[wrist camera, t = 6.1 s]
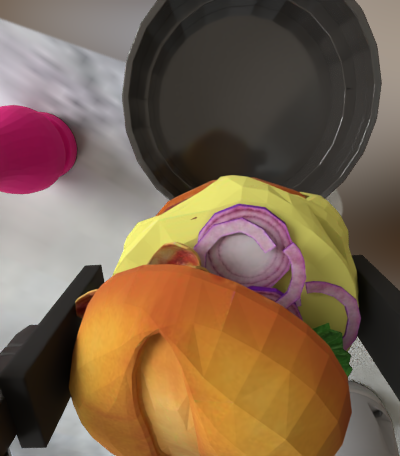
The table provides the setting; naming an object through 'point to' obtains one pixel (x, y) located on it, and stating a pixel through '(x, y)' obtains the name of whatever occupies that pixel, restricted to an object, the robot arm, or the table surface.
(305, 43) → the bowl
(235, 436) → the cheeseburger
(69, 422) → the table surface
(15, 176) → the pepper mill
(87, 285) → the robot arm
